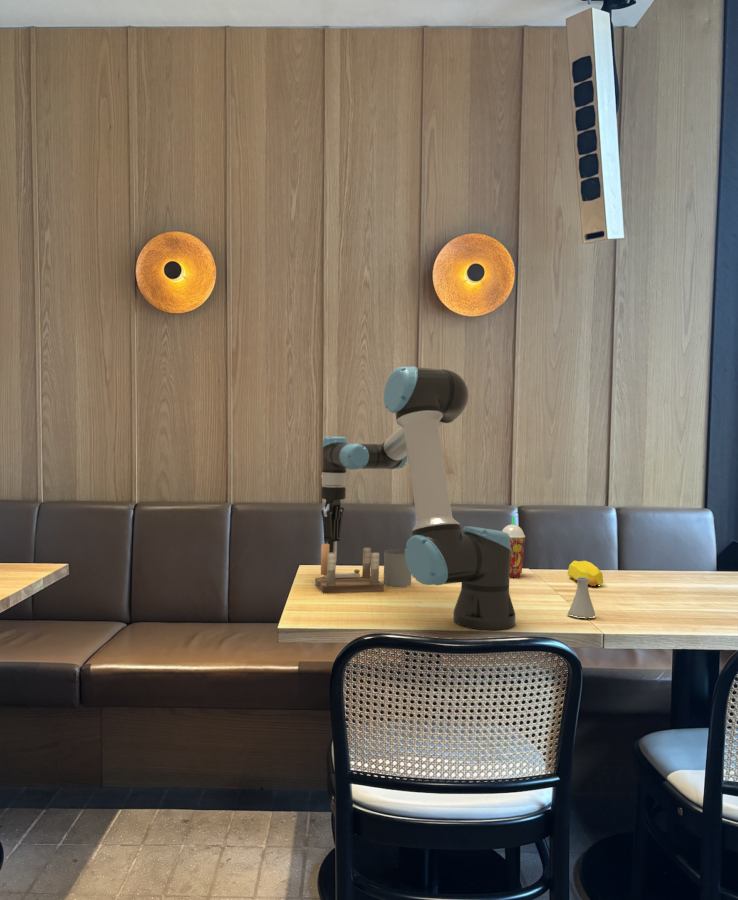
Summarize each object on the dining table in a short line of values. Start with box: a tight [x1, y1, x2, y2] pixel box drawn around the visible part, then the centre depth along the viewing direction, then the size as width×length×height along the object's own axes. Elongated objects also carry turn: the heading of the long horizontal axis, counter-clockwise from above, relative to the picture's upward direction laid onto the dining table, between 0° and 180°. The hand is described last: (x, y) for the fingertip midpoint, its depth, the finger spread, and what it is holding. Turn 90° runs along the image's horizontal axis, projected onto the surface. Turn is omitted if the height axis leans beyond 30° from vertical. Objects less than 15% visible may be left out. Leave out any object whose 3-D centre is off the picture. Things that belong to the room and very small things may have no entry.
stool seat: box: [314, 547, 385, 594], centre depth 205 cm, size 12×18×11 cm
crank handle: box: [320, 543, 361, 578], centre depth 209 cm, size 2×12×10 cm, turn 106°
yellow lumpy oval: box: [567, 560, 604, 587], centre depth 224 cm, size 18×7×8 cm
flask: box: [567, 577, 596, 618], centre depth 179 cm, size 7×7×10 cm
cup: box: [383, 549, 412, 588], centre depth 212 cm, size 8×8×10 cm
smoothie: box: [501, 515, 526, 578], centre depth 230 cm, size 8×8×20 cm
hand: (331, 562), depth 214 cm, fingers closed
